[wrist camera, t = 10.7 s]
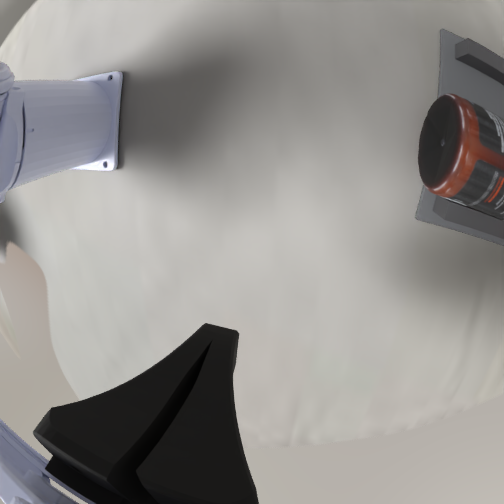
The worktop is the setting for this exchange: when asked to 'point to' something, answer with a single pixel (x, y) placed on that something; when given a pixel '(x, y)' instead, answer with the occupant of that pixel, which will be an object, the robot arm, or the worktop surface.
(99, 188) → the worktop surface
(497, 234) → the mat
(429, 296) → the worktop surface
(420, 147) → the supplement bottle
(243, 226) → the worktop surface
